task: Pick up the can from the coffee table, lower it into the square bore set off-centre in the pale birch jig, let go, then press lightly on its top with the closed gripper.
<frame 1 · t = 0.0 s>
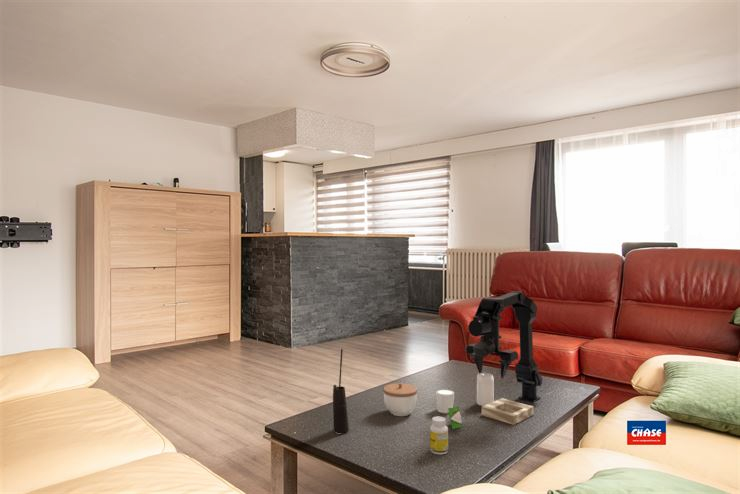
hand: (491, 375, 167), 15 cm above the table, tool pointing down, fingers open, 9 cm apart
white cup: (445, 411, 173), on the table
jig: (507, 414, 169), on the table
supplement bottle: (439, 451, 139), on the table
butter churn: (338, 430, 155), on the table
lidded bowl: (400, 413, 171), on the table
can: (485, 404, 180), on the table
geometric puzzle: (455, 427, 158), on the table
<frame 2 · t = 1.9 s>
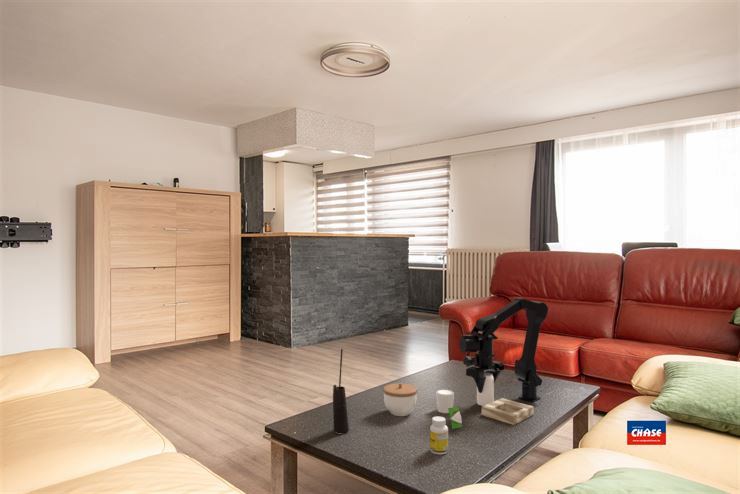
hand: (485, 390, 180), 5 cm above the table, tool pointing down, fingers closed on can, 6 cm apart
can: (485, 404, 180), on the table, touching gripper
everything else where it was.
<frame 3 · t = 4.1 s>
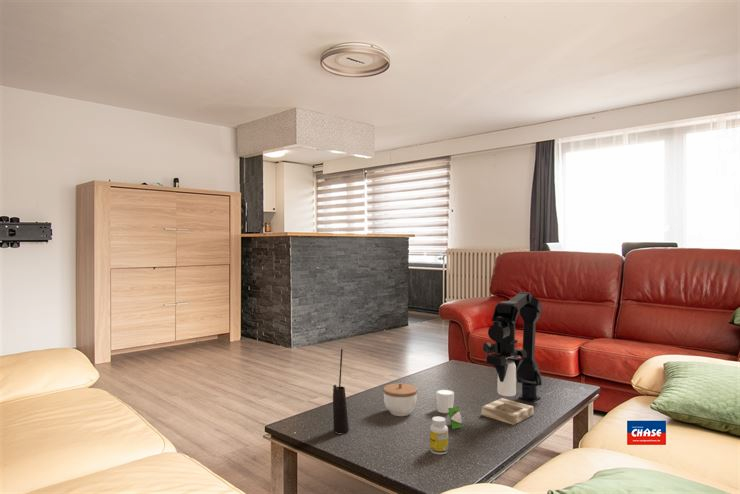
hand: (506, 379, 168), 13 cm above the table, tool pointing down, fingers closed on can, 6 cm apart
can: (506, 394, 168), point 8 cm above the table, touching gripper
everything else where it was.
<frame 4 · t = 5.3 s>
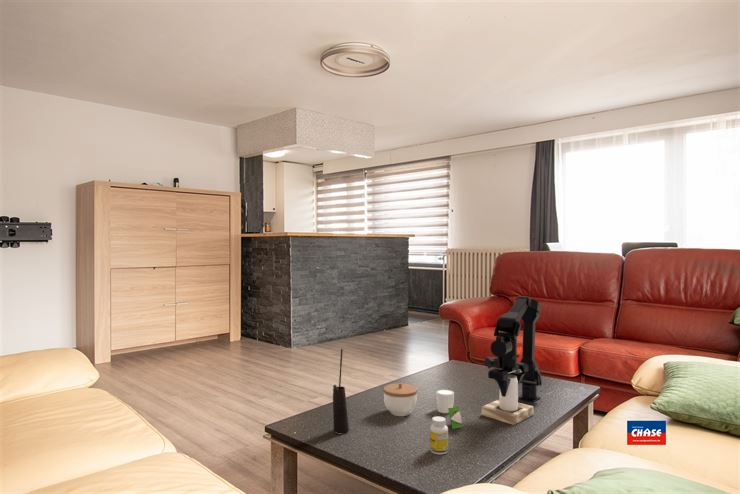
hand: (508, 394, 167), 8 cm above the table, tool pointing down, fingers closed on can, 6 cm apart
can: (508, 409, 167), point 3 cm above the table, touching gripper
everything else where it was.
when the fingers open (6 cm above the table, at t = 6.3 s): can stays where it is, resting in jig.
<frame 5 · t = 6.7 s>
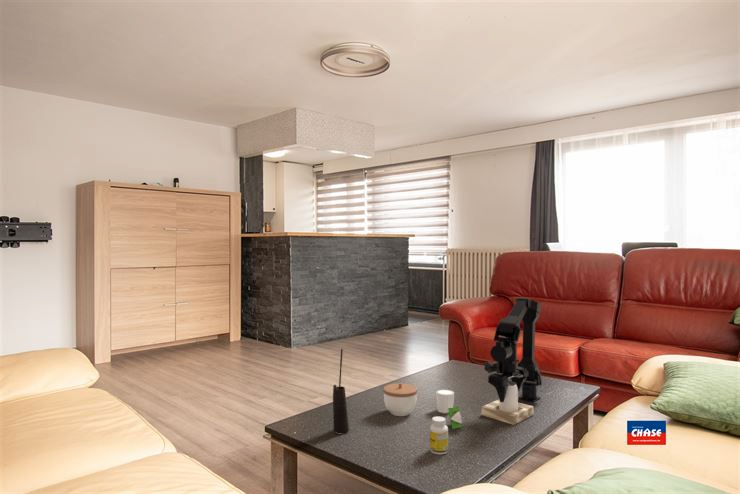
hand: (508, 399, 167), 6 cm above the table, tool pointing down, fingers open, 9 cm apart
can: (508, 416, 167), resting in jig
everything else where it was.
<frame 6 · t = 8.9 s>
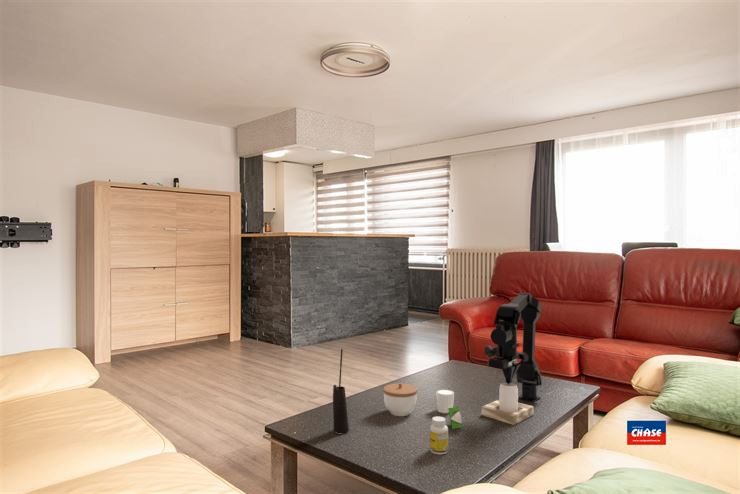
hand: (508, 383, 167), 12 cm above the table, tool pointing down, fingers closed, pressing on can
can: (508, 416, 167), resting in jig, touching gripper
everything else where it was.
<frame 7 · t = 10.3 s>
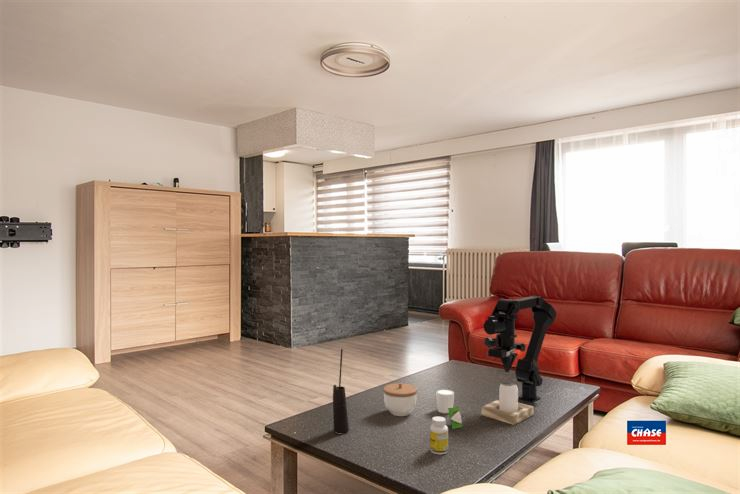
hand: (506, 371, 179), 13 cm above the table, tool pointing down, fingers closed
can: (508, 416, 167), resting in jig
everything else where it was.
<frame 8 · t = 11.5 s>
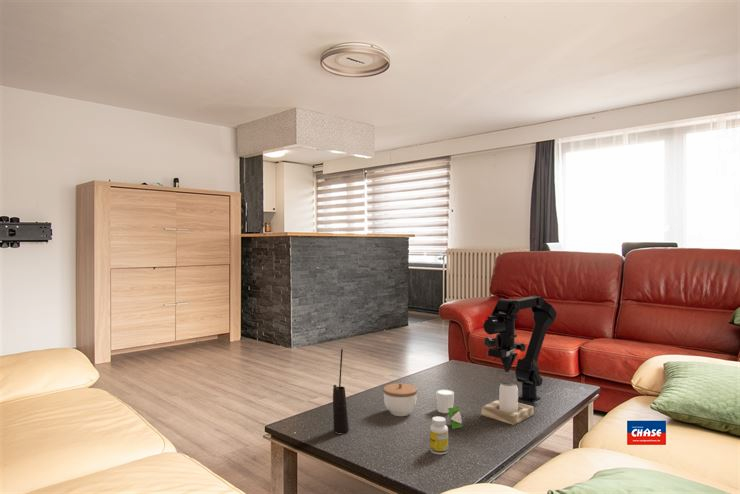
hand: (506, 371, 179), 13 cm above the table, tool pointing down, fingers closed
nothing on the table moved.
at the end: can 0.1 cm off-centre on the jig, point 0.0 cm above the jig's base; can tilted 0°; the gripper is holding nothing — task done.
